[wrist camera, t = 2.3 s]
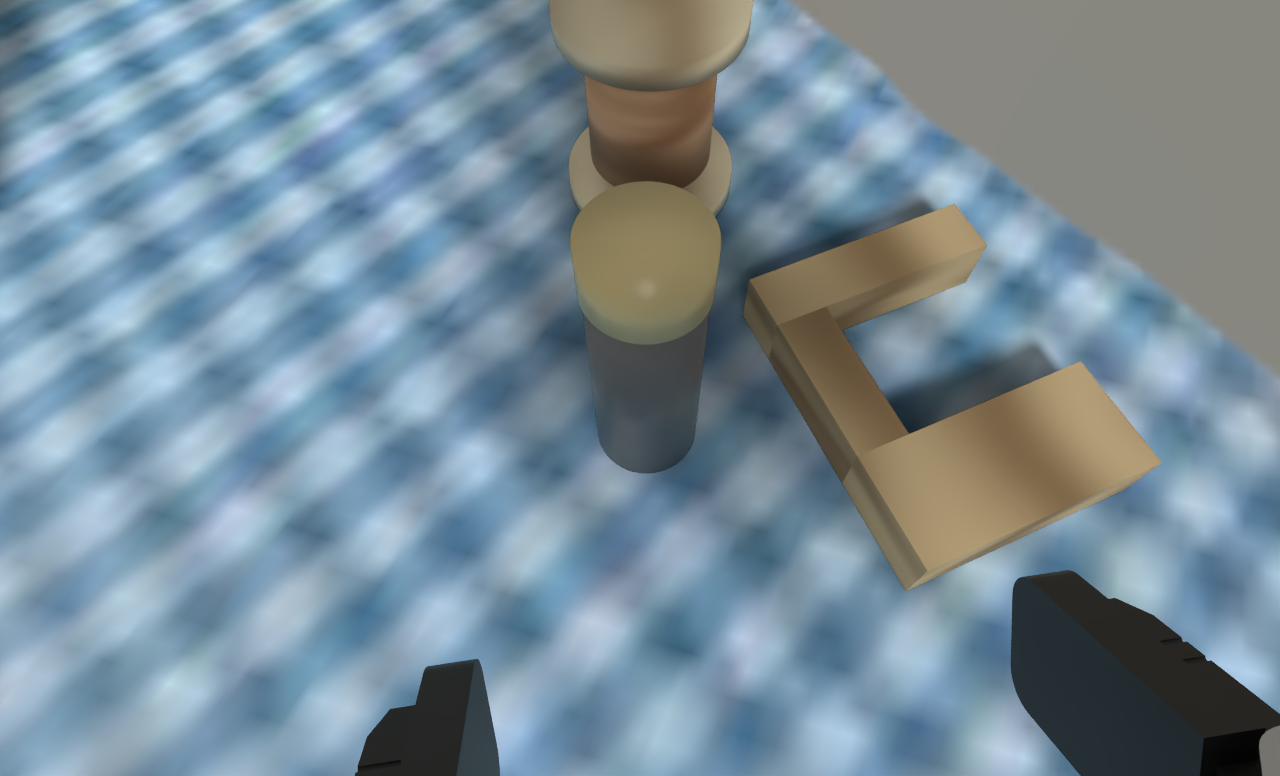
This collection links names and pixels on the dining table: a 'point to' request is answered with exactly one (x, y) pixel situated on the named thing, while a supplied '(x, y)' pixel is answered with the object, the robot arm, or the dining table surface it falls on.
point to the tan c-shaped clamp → (954, 447)
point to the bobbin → (651, 91)
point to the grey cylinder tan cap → (646, 316)
